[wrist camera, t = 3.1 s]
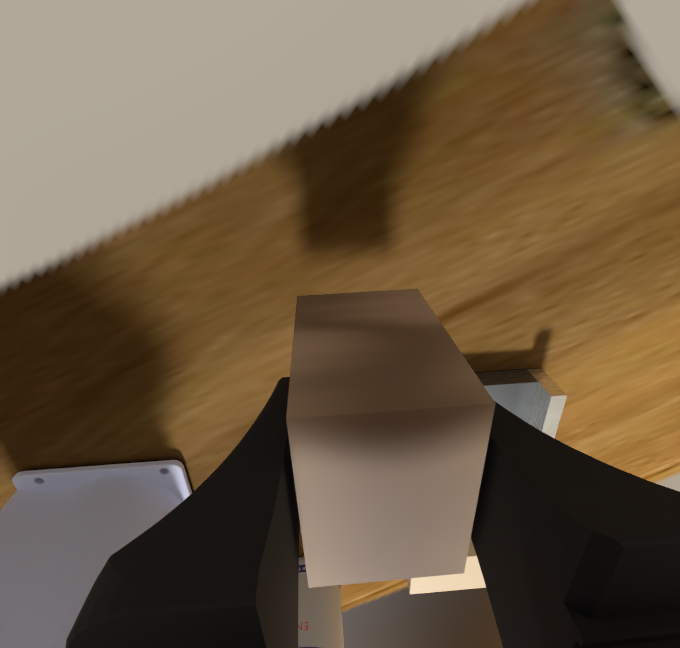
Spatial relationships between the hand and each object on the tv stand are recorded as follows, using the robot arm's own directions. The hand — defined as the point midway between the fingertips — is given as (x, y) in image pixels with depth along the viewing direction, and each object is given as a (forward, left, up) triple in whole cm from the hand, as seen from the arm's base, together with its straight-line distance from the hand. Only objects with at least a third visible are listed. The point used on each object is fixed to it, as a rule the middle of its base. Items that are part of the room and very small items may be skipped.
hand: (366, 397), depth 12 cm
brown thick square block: (0, 0, -2) cm, 2 cm away
